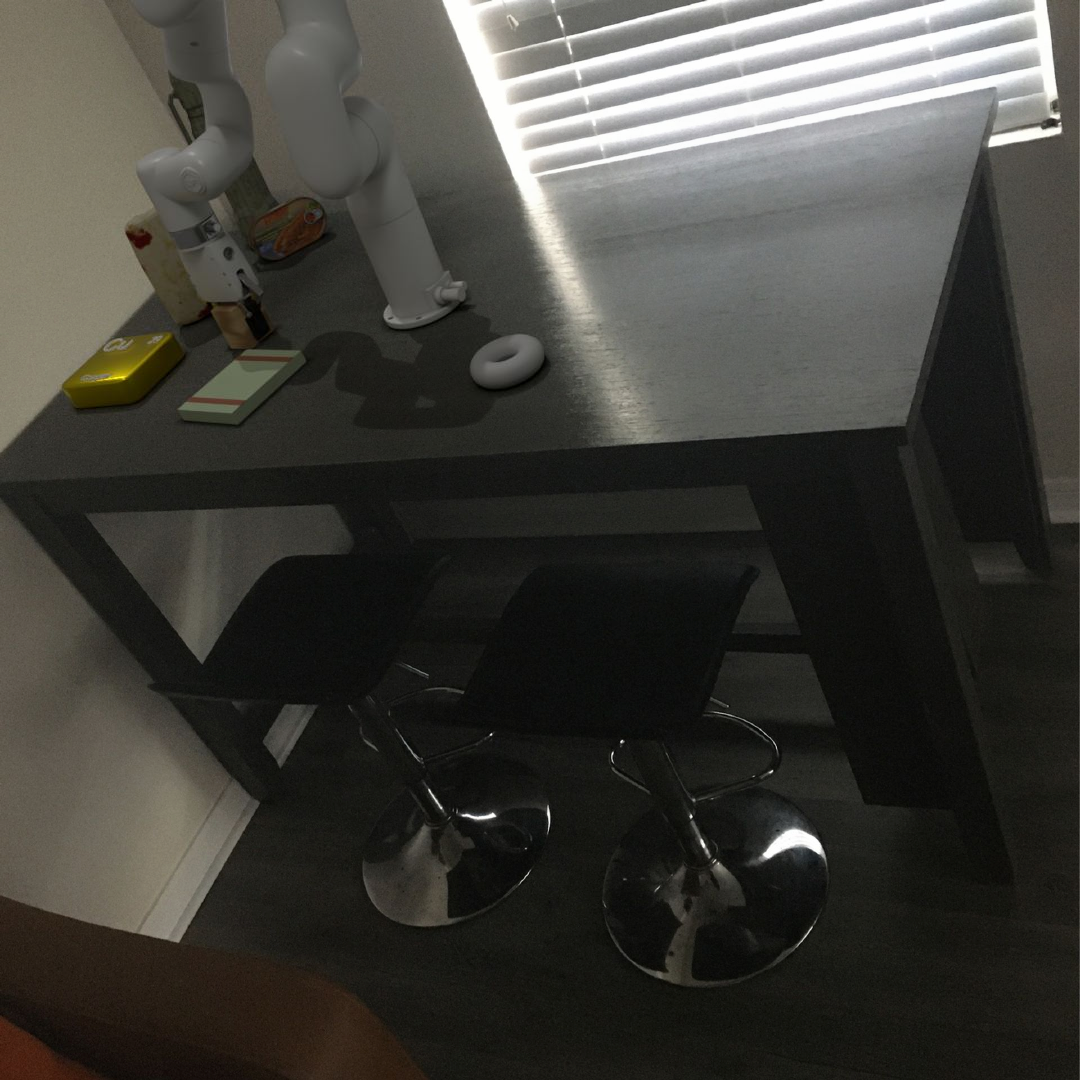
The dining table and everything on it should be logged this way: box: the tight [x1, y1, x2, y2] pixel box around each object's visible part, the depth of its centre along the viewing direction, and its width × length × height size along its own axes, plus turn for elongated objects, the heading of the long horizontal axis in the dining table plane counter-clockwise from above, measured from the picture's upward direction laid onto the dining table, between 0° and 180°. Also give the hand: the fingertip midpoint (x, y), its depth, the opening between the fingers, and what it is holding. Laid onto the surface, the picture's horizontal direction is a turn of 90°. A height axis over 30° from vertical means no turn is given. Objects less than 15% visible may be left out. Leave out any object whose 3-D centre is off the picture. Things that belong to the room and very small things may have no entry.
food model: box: [124, 206, 212, 326], centre depth 184 cm, size 10×7×20 cm
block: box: [210, 292, 276, 350], centre depth 173 cm, size 5×6×7 cm
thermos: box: [167, 70, 280, 249], centre depth 201 cm, size 9×12×35 cm
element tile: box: [61, 331, 185, 409], centre depth 175 cm, size 15×15×5 cm
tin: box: [249, 195, 328, 261], centre depth 200 cm, size 15×3×8 cm, turn 120°
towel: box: [176, 348, 307, 426], centre depth 160 cm, size 12×16×2 cm
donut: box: [469, 333, 545, 390], centre depth 139 cm, size 10×4×10 cm
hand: (250, 333), depth 174 cm, fingers closed on block, 5 cm apart
